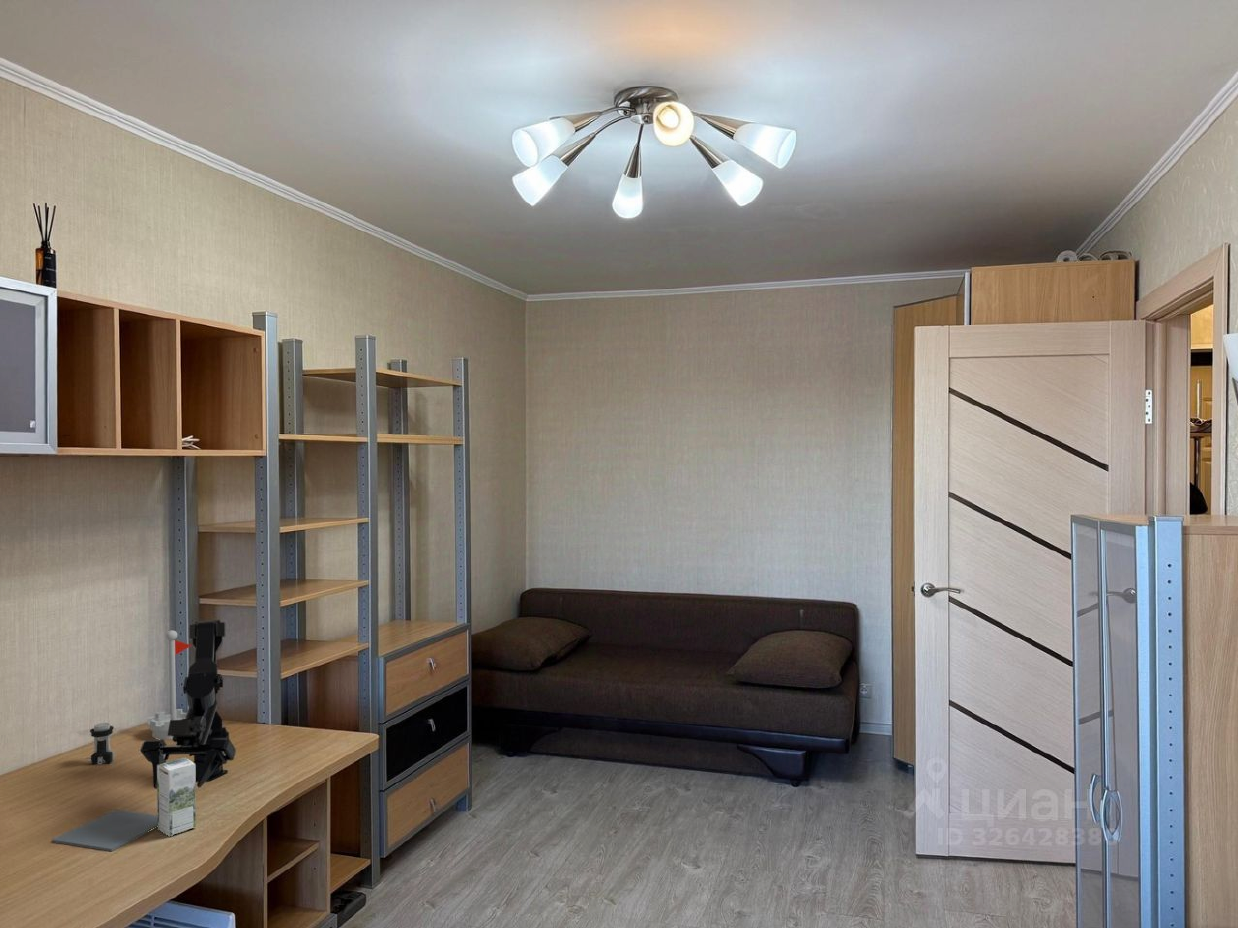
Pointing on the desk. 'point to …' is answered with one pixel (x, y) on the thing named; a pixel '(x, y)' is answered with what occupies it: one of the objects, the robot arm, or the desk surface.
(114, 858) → the desk surface
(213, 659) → the robot arm
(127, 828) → the slate mat
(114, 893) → the desk surface
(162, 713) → the flag stand
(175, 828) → the syrup box
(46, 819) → the desk surface
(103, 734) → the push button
